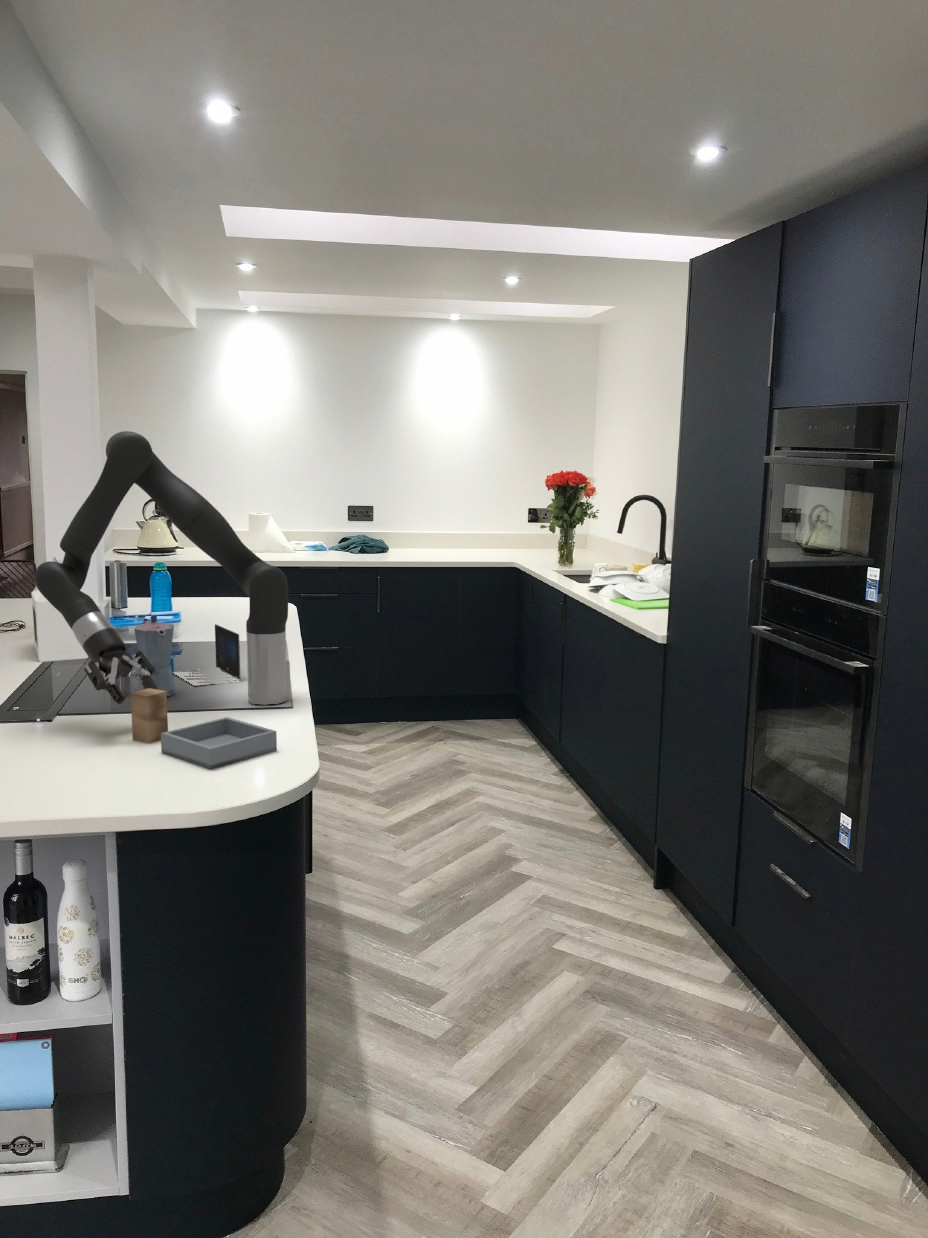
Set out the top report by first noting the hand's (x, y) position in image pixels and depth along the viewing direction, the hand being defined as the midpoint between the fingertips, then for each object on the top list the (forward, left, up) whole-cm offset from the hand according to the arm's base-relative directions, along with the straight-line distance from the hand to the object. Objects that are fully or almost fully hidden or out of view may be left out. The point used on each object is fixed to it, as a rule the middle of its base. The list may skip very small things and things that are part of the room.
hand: (138, 697), depth 198 cm
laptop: (-42, -35, -9) cm, 55 cm away
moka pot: (-23, -29, -9) cm, 38 cm away
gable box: (-32, -93, -9) cm, 99 cm away
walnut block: (-1, +3, -8) cm, 9 cm away
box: (-5, +21, -8) cm, 23 cm away
